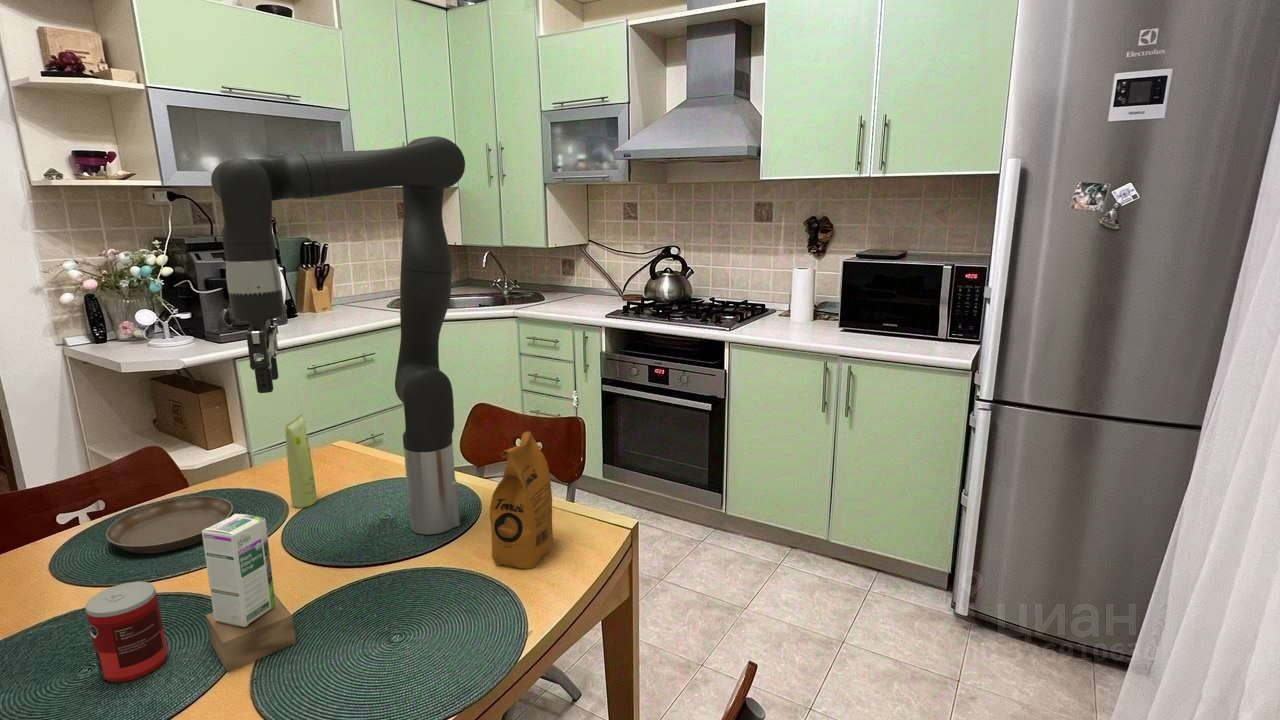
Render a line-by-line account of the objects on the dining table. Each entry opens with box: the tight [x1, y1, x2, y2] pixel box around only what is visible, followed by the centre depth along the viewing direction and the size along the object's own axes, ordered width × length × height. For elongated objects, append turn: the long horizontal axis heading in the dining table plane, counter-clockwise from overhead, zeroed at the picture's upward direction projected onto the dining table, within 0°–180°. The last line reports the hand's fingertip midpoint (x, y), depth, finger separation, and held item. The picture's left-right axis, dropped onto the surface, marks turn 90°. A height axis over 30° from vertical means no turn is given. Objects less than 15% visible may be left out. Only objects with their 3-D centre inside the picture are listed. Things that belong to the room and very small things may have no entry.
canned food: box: [84, 581, 168, 683], centre depth 94 cm, size 8×8×11 cm
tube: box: [285, 412, 318, 509], centre depth 143 cm, size 6×5×20 cm
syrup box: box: [202, 513, 276, 627], centre depth 97 cm, size 6×6×14 cm
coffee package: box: [489, 430, 554, 570], centre depth 122 cm, size 10×12×22 cm
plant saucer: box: [105, 495, 234, 554], centre depth 133 cm, size 21×21×3 cm
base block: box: [205, 592, 297, 673], centre depth 99 cm, size 9×9×5 cm
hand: (268, 385), depth 111 cm, fingers open, 8 cm apart
